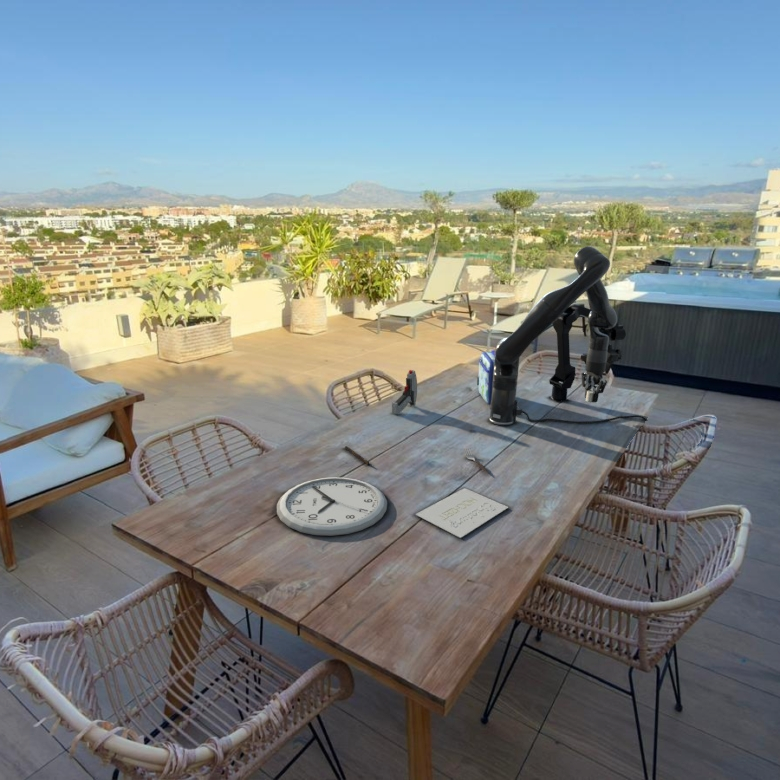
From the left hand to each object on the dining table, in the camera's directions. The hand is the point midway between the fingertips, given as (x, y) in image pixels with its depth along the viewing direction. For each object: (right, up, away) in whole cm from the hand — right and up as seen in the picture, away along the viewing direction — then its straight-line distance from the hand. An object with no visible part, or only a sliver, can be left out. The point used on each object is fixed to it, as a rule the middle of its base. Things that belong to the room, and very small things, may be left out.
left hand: (590, 399), depth 215 cm
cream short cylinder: (0, 0, 0) cm, 0 cm away
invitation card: (-63, -29, -75) cm, 102 cm away
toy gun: (-77, -4, +3) cm, 77 cm away
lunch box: (-37, 0, +18) cm, 42 cm away
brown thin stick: (-94, -18, -42) cm, 105 cm away
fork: (-55, -20, -46) cm, 74 cm away
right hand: (+13, +11, +25) cm, 31 cm away
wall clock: (-99, -27, -73) cm, 125 cm away
